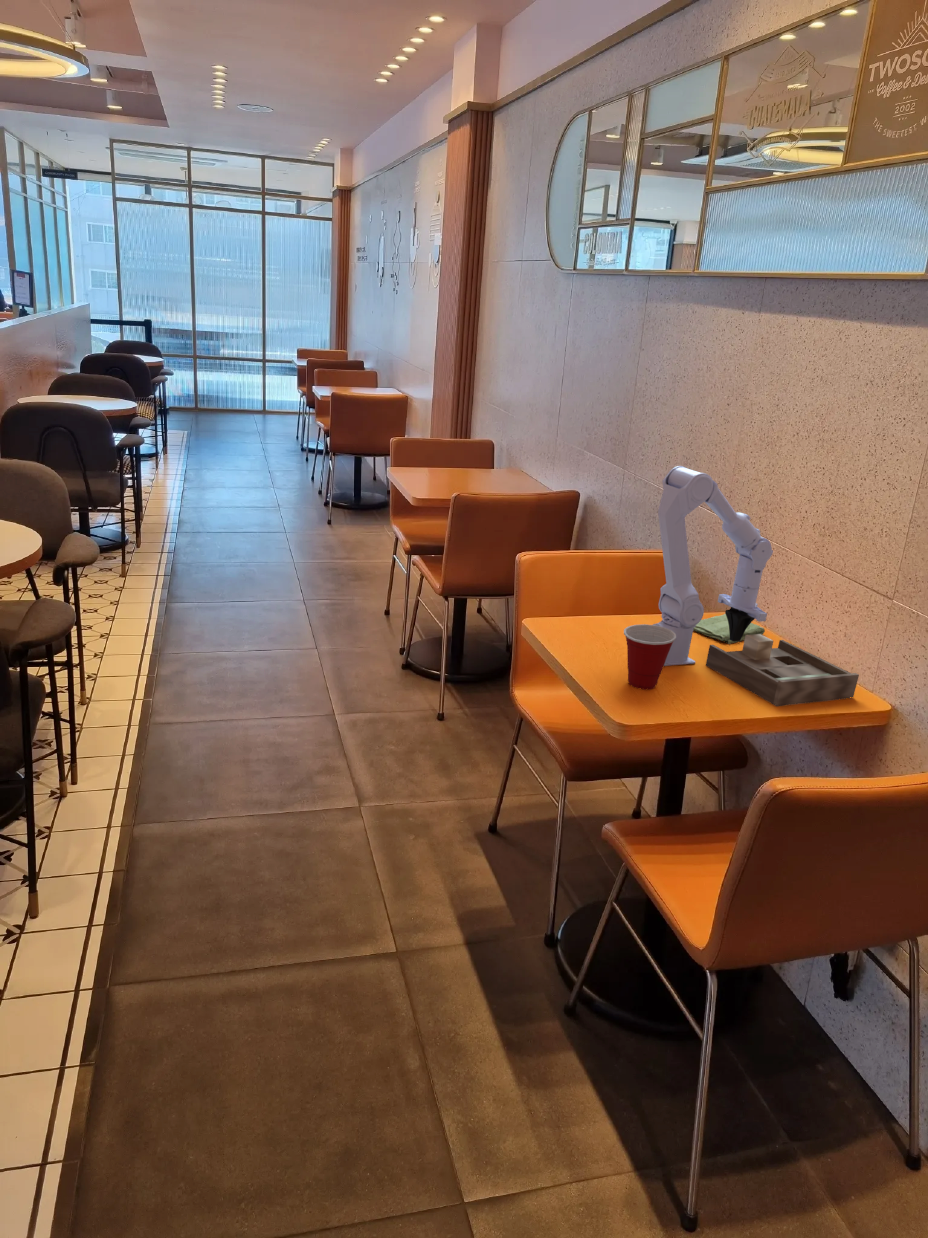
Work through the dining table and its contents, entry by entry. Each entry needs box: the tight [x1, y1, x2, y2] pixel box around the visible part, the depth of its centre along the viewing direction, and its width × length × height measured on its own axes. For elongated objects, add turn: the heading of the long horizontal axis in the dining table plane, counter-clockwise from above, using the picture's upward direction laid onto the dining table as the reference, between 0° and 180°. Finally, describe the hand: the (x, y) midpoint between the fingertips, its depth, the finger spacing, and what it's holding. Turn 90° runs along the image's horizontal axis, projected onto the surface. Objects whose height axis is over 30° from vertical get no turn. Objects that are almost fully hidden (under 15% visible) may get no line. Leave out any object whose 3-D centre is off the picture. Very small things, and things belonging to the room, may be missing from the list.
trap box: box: [705, 639, 860, 707], centre depth 200 cm, size 22×23×6 cm
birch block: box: [741, 634, 774, 660], centre depth 206 cm, size 4×4×4 cm
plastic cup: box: [623, 623, 676, 691], centre depth 189 cm, size 11×11×12 cm
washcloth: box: [693, 613, 766, 645], centre depth 231 cm, size 13×18×3 cm
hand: (734, 640), depth 213 cm, fingers closed
